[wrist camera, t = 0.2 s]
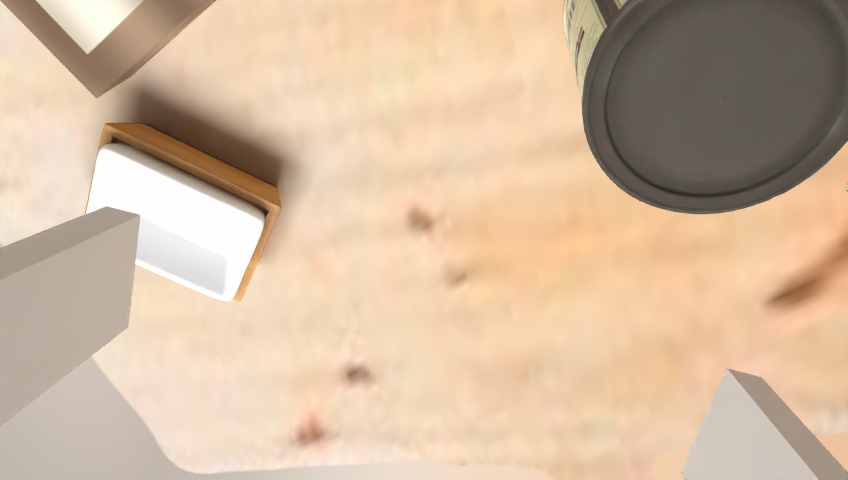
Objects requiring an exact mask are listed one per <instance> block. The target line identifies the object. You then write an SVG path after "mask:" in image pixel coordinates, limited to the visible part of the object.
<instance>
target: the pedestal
mask: <svg viewBox="0 0 848 480" xmlns="http://www.w3.org/2000/svg"><path fill="white" fill-rule="evenodd" d="M0 1H1V2H2V3H3V4H4V5H5V6H6V7H7V8H8V9H9V10H10V11H11V12H12V13H13V14H14V15H15V16H16V17H17V18H18V19H19V20H20V21H21V22H22V23H23V24H24V25H25V26H26V27H27V28H28V29H29V30H30V31H31V32H32V33H33V34H34V35H35V36H36V37H37V38H38V39H39V40H40V41H41V42H42V43H43V44H44V45H45V46H46V47H47V48H48V49H49V50H50V51H51V53H52V54H53V55H54V56H55V57H56V58H57V59H58V60H59V61H60V62H61V63H62V64H63V65H64V66H65V67H66V68H67V69H68V70H69V71H70V72H71V73H72V74H73V75H74V76H75V77H76V78H77V79H78V80H79V81H80V82H81V83H82V84H83V85H84V86H85V87H86V88H87V89H88V90H89V91H90V92H91V93H92V94H93V95H94V96H95V97H96V98H98V97H99V96H101V95H102V94H104V93H106V92H107V91H109V90H110V89H112V88H113V87H115V86H117V85H118V84H120V83H121V82H123V81H125V80H126V79H128V78H129V77H131V76H132V75H133V74H134V73H135V72H136V71H137V70H139V69H140V68H141V67H142V66H143V65H144V64H145V63H146V62H148V61H149V60H150V59H151V58H152V57H153V56H154V55H155V54H157V53H158V52H159V51H160V50H161V49H162V48H163V47H164V46H165V45H167V44H168V43H169V42H170V41H171V40H172V39H173V38H174V37H176V36H177V35H178V34H179V33H180V32H181V31H182V30H183V29H184V28H186V27H187V26H188V25H189V24H190V23H191V22H192V21H193V20H195V19H196V18H197V17H198V16H199V15H200V14H201V13H202V12H203V11H205V10H206V9H207V8H208V7H209V6H210V5H211V4H212V3H214V2H215V1H216V0H0Z"/></svg>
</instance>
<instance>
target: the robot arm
mask: <svg viewBox="0 0 848 480" xmlns="http://www.w3.org/2000/svg"><path fill="white" fill-rule="evenodd" d="M140 216H141V215H139V214H135V213H131V212H127V211H124V210H120V209H116V208H112V207H108V206H105V207H103V208H100V209H98V210H95V211H93V212H90V213H88V214H85V215H83V216H80V217H78V218H75V219H73V220H70V221H67V222H65V223H62V224H60V225H57V226H55V227H52V228H50V229H47V230H45V231H42V232H40V233H37V234H35V235H32V236H30V237H27V238H25V239H22V240H20V241H17V242H15V243H12V244H9V245H7V246H4V247H2V248H0V426H1V425H2V424H3V423H5V422H6V421H7V420H9V419H10V418H11V417H12V416H14V415H15V414H16V413H17V412H19V411H20V410H21V409H23V408H24V407H25V406H27V405H28V404H29V403H31V402H32V401H33V400H34V399H36V398H37V397H38V396H40V395H41V394H42V393H44V392H45V391H46V390H47V389H49V388H50V387H51V386H52V385H54V384H55V383H56V382H58V381H59V380H60V379H62V378H63V377H64V376H65V375H67V374H68V373H69V372H71V371H72V370H73V369H74V368H76V367H77V366H78V365H80V364H81V363H82V362H84V361H85V360H86V359H88V358H89V357H90V356H91V355H93V354H94V353H95V352H97V351H98V350H99V349H101V348H102V347H103V346H104V345H106V344H107V343H108V342H110V341H111V340H112V339H113V338H115V337H116V336H117V335H119V334H120V333H121V332H123V331H124V330H125V329H126V328H128V323H129V314H130V305H131V296H132V287H133V278H134V269H135V260H136V251H137V243H138V234H139V225H140ZM681 474H682V475H683V478H684V480H848V472H847V471H846V470H845V469H844V468H843V467H842V466H841V464H840V463H839V462H838V461H837V460H836V459H835V458H834V457H833V456H832V454H831V453H830V452H829V451H828V450H827V449H826V448H825V447H824V446H823V445H822V443H821V442H820V441H819V440H818V439H817V438H816V437H815V436H814V435H813V434H812V432H811V431H810V430H809V429H808V428H807V427H806V426H805V425H804V424H803V423H802V421H801V420H800V419H799V418H798V417H797V416H796V415H795V414H794V413H793V412H792V410H791V409H790V408H789V407H788V406H787V405H786V404H785V403H784V402H783V401H782V399H781V398H780V397H779V396H778V395H777V394H776V393H775V392H774V391H773V390H772V388H771V387H770V386H769V385H768V384H767V383H766V382H765V381H764V380H763V379H762V377H758V376H754V375H750V374H746V373H743V372H739V371H735V370H731V369H727V370H726V372H725V374H724V377H723V379H722V381H721V383H720V386H719V388H718V390H717V392H716V395H715V397H714V399H713V401H712V404H711V406H710V408H709V410H708V412H707V415H706V417H705V419H704V421H703V424H702V426H701V428H700V430H699V433H698V435H697V437H696V439H695V442H694V444H693V446H692V448H691V451H690V453H689V455H688V458H687V460H686V462H685V464H684V466H683V469H682V471H681Z"/></svg>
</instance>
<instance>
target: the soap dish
mask: <svg viewBox="0 0 848 480" xmlns="http://www.w3.org/2000/svg"><path fill="white" fill-rule="evenodd" d="M105 206H108V207H112V208H116V209H120V210H124V211H127V212H131V213H135V214H139V215H141V216H140V225H139V234H138V243H137V251H136V260H135V264H137V265H140V266H142V267H144V268H146V269H149V270H151V271H153V272H155V273H158V274H160V275H162V276H164V277H167V278H169V279H171V280H174V281H176V282H178V283H181V284H183V285H185V286H188V287H190V288H192V289H194V290H197V291H199V292H201V293H204V294H206V295H209V296H211V297H213V298H216V299H219V300H223V301H230V300H231V299H233V300H235V301H240V300H241V299H242V297H243V295H244V292H245V290H246V288H247V286H248V284H249V281H250V279H251V277H252V275H253V272H254V270H255V268H256V266H257V263H258V261H259V258H260V256H261V253H262V251H263V249H264V246H265V244H266V242H267V239H268V237H269V235H270V233H271V230H272V228H273V225H274V223H275V221H276V218H277V216H278V214H279V211H280V209H281V204H280V199H279V195H278V191H277V188H275V187H274V186H273V185H272V184H269V183H265V182H263V181H261V180H260V179H258V178H256V177H253V176H251V175H249V174H247V173H245V172H243V171H241V170H239V169H237V168H235V167H233V166H230V165H228V164H226V163H224V162H222V161H220V160H218V159H216V158H214V157H212V156H210V155H208V154H206V153H203V152H201V151H199V150H197V149H195V148H193V147H191V146H189V145H187V144H185V143H183V142H181V141H179V140H176V139H174V138H172V137H170V136H168V135H166V134H164V133H162V132H160V131H158V130H156V129H154V128H152V127H149V126H147V125H145V124H142V123H106V124H105V126H104V128H103V131H102V136H101V139H100V145H99V148H98V154H97V158H96V163H95V167H94V172H93V176H92V182H91V187H90V191H89V197H88V202H87V206H86V211H85V214H88V213H90V212H93V211H95V210H98V209H100V208H103V207H105Z"/></svg>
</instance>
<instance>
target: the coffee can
mask: <svg viewBox="0 0 848 480" xmlns="http://www.w3.org/2000/svg"><path fill="white" fill-rule="evenodd" d="M563 25H564V33H565V38H566V42H567V46H568V48H569V51H570V54H571V58H572V62H573V66H574V70H575V75H576V79H577V83H578V88H579V92H580V96H581V100H582V115H583V124H584V131H585V135H586V138H587V141H588V144H589V147H590V149H591V151H592V154H593V155H594V157H595V159H596V161H597V162H598V164H599V165H600V167H601V168H602V170H603V171H604V172H605V173H606V175H607V176H608V177H609V178H610V179H611V180H612V181H613V182H614V183H615V184H616V185H617V186H618V187H619V188H620V189H622V190H623V191H624V192H626V193H627V194H629V195H630V196H632V197H634V198H636V199H637V200H639V201H642V202H644V203H646V204H649V205H651V206H654V207H658V208H661V209H665V210H669V211H674V212H681V213H690V214H714V213H723V212H729V211H735V210H738V209H743V208H746V207H750V206H753V205H756V204H759V203H762V202H765V201H767V200H770V199H771V198H773V197H775V196H778V195H780V194H783V193H785V192H787V191H788V190H790V189H792V188H794V187H795V186H797V185H798V184H800V183H801V182H803V181H804V180H806V179H807V178H809V177H810V176H812V175H813V174H814V173H816V172H817V171H818V170H819V169H820V168H822V167H823V166H824V165H825V164H826V163H827V162H828V161H829V160H830V159H831V158H832V157H833V156H834V155H835V154H836V153H837V152H838V151H839V150H840V149H841V148H842V147H843V145H844V144H845V143H846V142H847V141H848V0H565V3H564V11H563Z"/></svg>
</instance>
